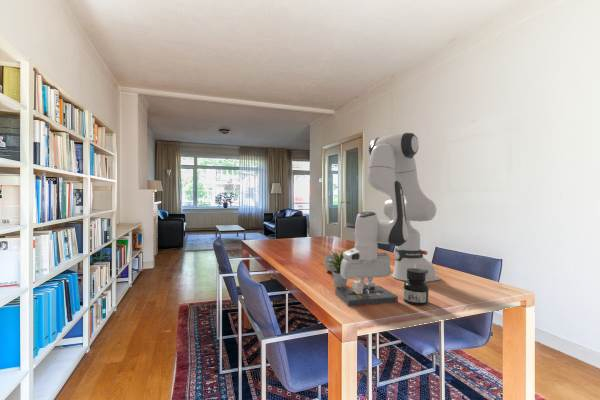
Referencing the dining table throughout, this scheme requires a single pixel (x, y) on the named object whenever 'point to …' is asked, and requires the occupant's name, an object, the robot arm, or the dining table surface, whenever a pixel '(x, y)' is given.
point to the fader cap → (358, 287)
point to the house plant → (337, 278)
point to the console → (366, 296)
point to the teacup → (328, 258)
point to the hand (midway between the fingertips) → (365, 288)
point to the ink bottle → (416, 287)
